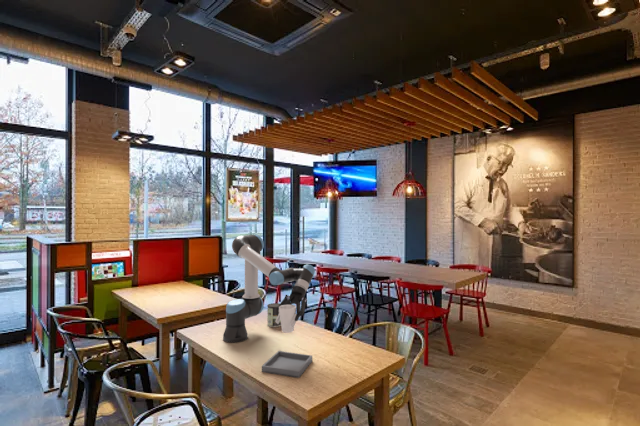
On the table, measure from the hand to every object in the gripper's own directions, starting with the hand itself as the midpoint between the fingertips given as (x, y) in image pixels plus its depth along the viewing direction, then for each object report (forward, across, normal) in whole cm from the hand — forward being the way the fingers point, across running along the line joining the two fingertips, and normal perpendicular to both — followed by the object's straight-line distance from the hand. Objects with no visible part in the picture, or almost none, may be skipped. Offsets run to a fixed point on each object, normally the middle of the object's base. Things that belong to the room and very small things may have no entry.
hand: (284, 324), depth 187 cm
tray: (+17, -5, -11) cm, 21 cm away
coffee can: (-17, +42, -46) cm, 65 cm away
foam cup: (+1, 0, -6) cm, 6 cm away
